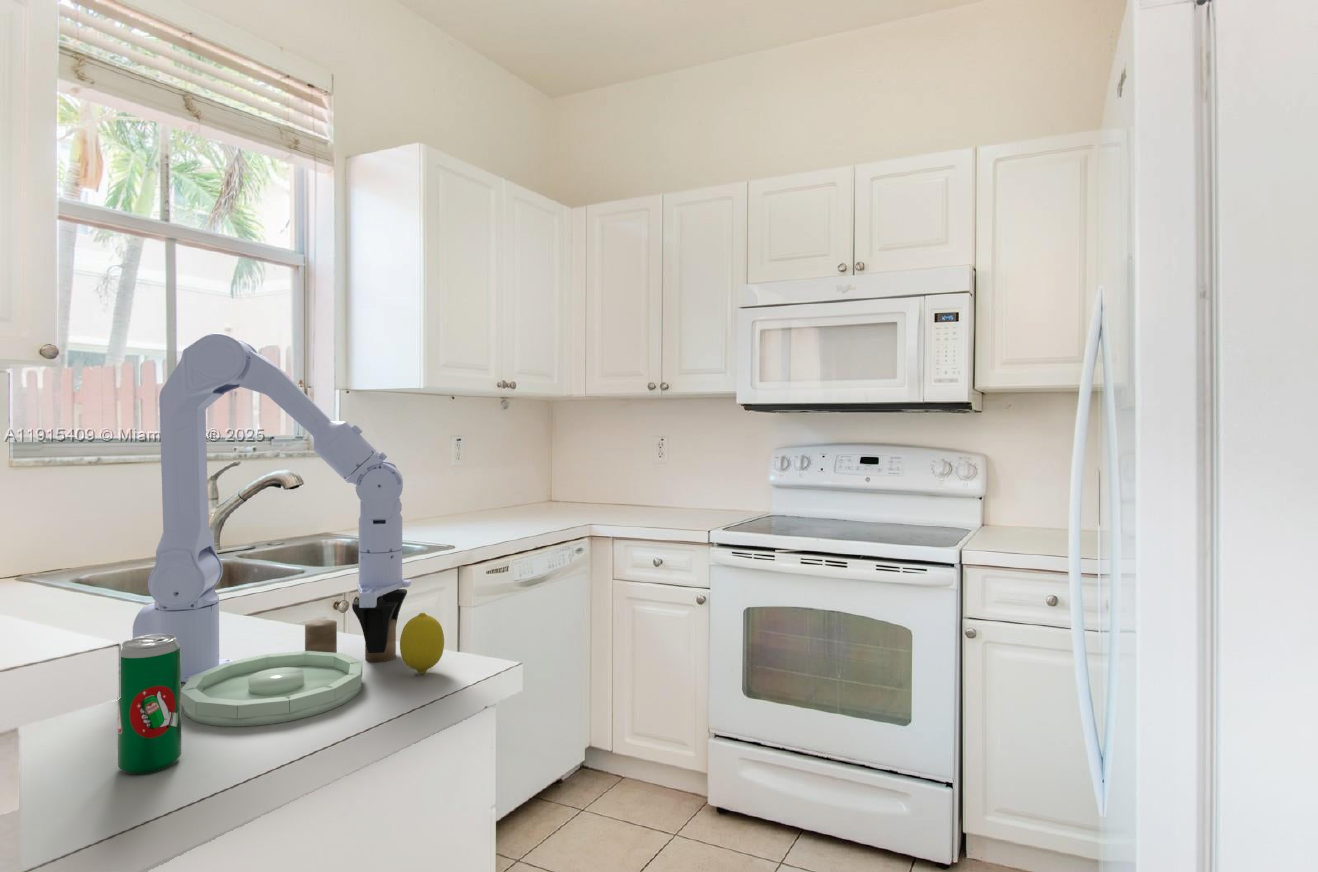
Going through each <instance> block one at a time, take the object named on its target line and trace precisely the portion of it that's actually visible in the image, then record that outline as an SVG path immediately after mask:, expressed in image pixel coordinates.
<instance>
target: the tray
mask: <svg viewBox="0 0 1318 872" xmlns="http://www.w3.org/2000/svg"><path fill="white" fill-rule="evenodd" d="M362 678H363V661H362V660H360V659H358V658H354V657H352V656H350V655H348V654H346V653H342V652H341V653H340V652H337V653H331V652H317V651H305V650H303V651H302V650H301V651H292V652H291V651H290V652H279V653H278V652H277V653H267V654H261V655H257V656H256V655H255V656H251V657H247V658H242V659H237V660H235V661H232V662H227V663H223V664H221V665H218V666H216V667H213V668H211V669H208V670H206V671H203V672H201V673H199V674H196V675H194V676H191V678H190V679H189V680H188V681H187V682H185V684H184V685H183V686H182V687H181V706H183V713H184V715H185V716H186V718H188V719H190V720H192V721H194V722H197V723H198V724H199V723H200V724H204V725H209V726H216V727H217V726H218V727H256V726H257V727H258V726H264V725H265V726H266V725H267V726H268V725H274V724H281V723H287V722H292V721H296V720H301V719H305V718H309V717H313V716H315V715H319V714H322V713H325V712H328V711H330V710H334V709H335V708H339V707H340V706H342V705H344V704H346V703H348V702H350V701H351V700H353V699H354V698H355V697H356V696H358V695H359V694H360V692H361V689H362V686H363V685H362Z"/></svg>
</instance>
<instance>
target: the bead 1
mask: <svg viewBox="0 0 1318 872" xmlns="http://www.w3.org/2000/svg"><path fill="white" fill-rule="evenodd" d="M337 622H338V621H336V620H334V619H320V620H319V619H318V620H312V621H309V622H307V623H305V624H304V651H317V652H331V653H338V646H337V645H338V641H337V640H338V639H337V638H338V637H337V636H338V634H337V633H338V630H337V629H338V627H337V624H338V623H337Z"/></svg>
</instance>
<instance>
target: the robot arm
mask: <svg viewBox="0 0 1318 872" xmlns="http://www.w3.org/2000/svg"><path fill="white" fill-rule="evenodd" d="M238 388H244V389H247V390H249V391H253V392H256V393H260V394H263V395H264V396H265V395H266V396H268V398H270V399H271V400H272V401H273V402H274V403H275V404H277V406H279V408H281V409H282V410H283V411H284V412H285V413H286V414H288V416H290V417H291V418H292V419H293V420H294V421H295V422H297V423H298V424H299V425H300V426H301V427H302V428H304V430H306V431H307V433H309V434H310V435H311V436H312V438H313V451H314V452H315V454H316V455H318V457H320V458H321V459H322V460H323V461H324V462H325V463H326V464H327V465H328V466H329V467H330V468H331V469H332V470H334V471H335V473H336V474H338V475H339V476H340V477H341V478H342V479H343V480H344V481H345V482H346V483H347V484H353V485H355V492H356V495H357V497H358V499H359V500H360V505H359V506H360V509H359V511H360V513H359V514H360V516H359V517H358V581H357V582H356V588H357V591H358V593H359V594H358V596H359V597H358V599H359V600H355V601H353V602H352V603H351V607H352V612H353V613H354V614H355V616H356V618H357V619H358V621H359V624H360V627H361V629H362V633H363V639H364V643H366V647H367V650H368V653H384V652H385V649H386V645H387V640H388V632H389V626H390V621H391V619H394V620H396V625H397V624H398V623H397V622H398V617H399V613H400V610H401V608H402V605H403V602H404V600H405V599H406V596H407V594H408V590H407V589H406V588H410V586H411V585H412V579H403V516H402V514H401V513H402V510H403V509H402V508H403V507H402V506H403V505H402V502H401V498H400V497H401V495H402V493H403V488H404V487H403V485H404V480H403V479H404V478H403V475H402V474H401V472H400V470H398V467H397V465H395V464H394V463H393V462H390V461H385V460H386V459H387V458H388V455H386V453H384V451H381V452H380V453H379V451H377V449H376V448H375V447H374V446H373V445H371V444H370V443H369V441H367V440H366V438H364V437H363V436H362V435H361V433H363V430H362V429H361V428H360V427H359V426H358V425H357V424H354V425H353V426H352V425H351V424H350V423H349V422H347V421H344V420H341V421H339V420H332V419H330V418H329V416H327V414H326V413H324V411H323V410H322V409H321V408H320V407H319V406H318V405H317V404H316V403H315V402H314V401H313V399H311V398H310V397H309V395H307V394H306V392H304V391H303V390H302V389H301V387H300V386H298V384H297V383H295V381H293V379H291V377H290V376H288V374H286V372H285V371H284V370H283V369H282V368H280V367H279V366H277V364H275V363H274V362H272V361H271V360H270V359H269V358H267V357H265V356H264V355H263V354H260V353H258V351H257V350H256V349H255V348H254V347H253V346H252V345H251V344H250V343H248V342H245V341H244V340H243V341H242V340H237V339H236V338H234V337H233V336H231V335H228V334H224V333H217V332H216V333H211V334H207V335H204V336H202V337H200V338H199V339H197V340H196V341H195V342H193V343H191V344H190V345H189V346H187V347H186V348H184V349H183V350H182V353H181V358H180V360H179V362H178V363H177V365H176V366H175V368H174V370H173V371H172V372H171V374H170V375H169V377H168V379H167V380H166V382H165V383H164V385H163V387H162V388H161V390H160V392H159V399H158V400H159V428H160V429H159V430H160V433H159V434H160V435H159V436H160V466H161V469H160V471H161V497H162V498H161V499H162V500H161V501H162V503H161V504H162V530H163V531H162V535H161V537H160V539H159V543H158V545H157V547H156V550H155V558H156V559H155V565H154V567H153V569H152V571H151V572H150V574H149V577H148V580H147V587H148V592H149V595H150V596H151V598H152V599H153V600H154V602H151V603H148V604H146V605H144V606H143V607H142V608H141V609H140V610H139V612H138V613H137V614H136V616H135V618H134V621H133V625H132V638H136V637H140V636H146V635H154V634H170V635H174V636H176V642H177V643H178V644H179V645H180V647H181V683H187V681H188V680H189V679H190V678H191V676H194V675H196V674H199V673H201V672H203V671H206V670H208V669H211V668H213V667H216V666H218V665H221V664H223V663H227V662H232V661H236V660H234V659H225V658H220V596H219V595H218V594H217V592H216V590H215V587H216V586H217V585H218V584H219V583H220V582H221V581H220V580H221V578H222V577H223V573H224V567H223V562H222V560H221V558H220V556H219V555H218V553H217V551H216V547H215V537H214V535H213V533H212V530H211V528H210V526H209V525H210V522H209V521H210V519H209V491H208V489H209V488H208V487H209V486H208V452H207V424H206V422H207V421H206V411H207V409H208V408H209V407H210V406H211V405H212V404H214V403H215V402H216V401H218V399H220V398H221V397H223V396H224V395H225V394H226V393H228V392H231V391H233V390H236V389H238ZM404 588H405V589H404Z"/></svg>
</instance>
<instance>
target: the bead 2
mask: <svg viewBox="0 0 1318 872" xmlns="http://www.w3.org/2000/svg"><path fill="white" fill-rule="evenodd" d="M364 643H365V642H364ZM364 648H365V649H364V651H365V653H364V654H365V655H364V656H365V657H364V658H365V661H366V662H369V663H384V662H388V661H387V660H389V661H392V660H394V659H396V658H397V624H396V620H394V619H391V621H390V626H389V632H388V640H387V645H386V649H385V652H384V653H368V650H367V647H366V643H365V644H364ZM391 659H392V660H391Z"/></svg>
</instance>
